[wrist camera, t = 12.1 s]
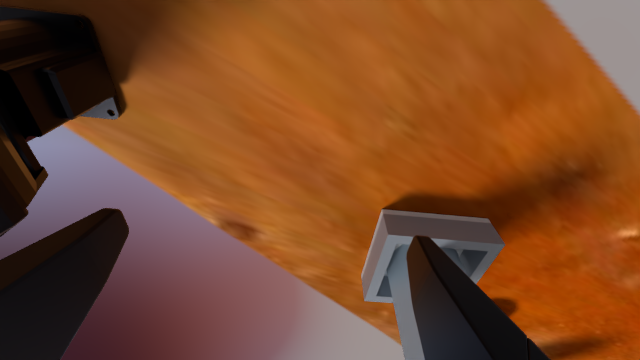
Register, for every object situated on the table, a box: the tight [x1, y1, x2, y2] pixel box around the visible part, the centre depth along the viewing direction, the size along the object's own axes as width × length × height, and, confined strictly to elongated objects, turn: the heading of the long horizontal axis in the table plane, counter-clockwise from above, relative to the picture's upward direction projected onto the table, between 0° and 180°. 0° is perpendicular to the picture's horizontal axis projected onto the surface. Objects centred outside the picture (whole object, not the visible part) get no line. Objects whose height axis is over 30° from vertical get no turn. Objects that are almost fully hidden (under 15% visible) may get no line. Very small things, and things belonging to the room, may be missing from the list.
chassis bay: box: [361, 209, 505, 303], centre depth 27 cm, size 10×10×3 cm
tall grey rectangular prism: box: [387, 244, 468, 360], centre depth 23 cm, size 5×5×14 cm
